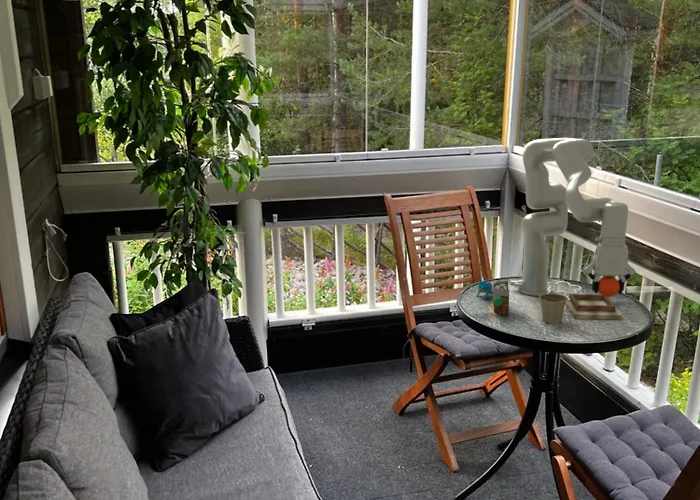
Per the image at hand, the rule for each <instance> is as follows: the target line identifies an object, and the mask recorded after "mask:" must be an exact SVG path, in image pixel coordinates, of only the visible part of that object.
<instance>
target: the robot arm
mask: <svg viewBox="0 0 700 500" xmlns="http://www.w3.org/2000/svg"><path fill="white" fill-rule="evenodd" d="M594 153H595V151H594V147H593V144H591V142H590V140H587V139H585V138H573V137H572V138H571V137H570V138H569V137H558V138H557V137H556V138H555V137H554V138H540V139H535V140H532V141H529V142H528V143H527V144H526V145H525V146H524V149H523V151H522V162H523V166H524V171H525V172H524V173H525V201H526V205H527V207H528V208H529V209H532V210H542V209H543V210H544V209H549V211H539V212H533V213H529V214H527V215H525V216H524V217H523V219H522V221H521V228H522V229H521V230H522V234H523V237H522V238H523V259H522V261H523V263H522V277H520V279H518V280H510V281H509V282H510V283H509V285H510V286H514V287H515V288H517V287H518V289H517V290H518V292H520V293H521V294H524V295H528V296H535V297H537V296H538V297H539V296H540V295H542V294H547V293H548V291H547V286H548V281H549V280H548V278H549V263H550V262H549V261H550V247H549V244H548V243H547V241H546V239H545V238H546V237H552V236H560V235H562V234H564V233H565V232H566V230H567V228H568V222H569V221H568V219H569V213H568V212H569V211H570V212H571V214H572V216H573V218H575V220H577V221H578V222H580V223H592V222H601V226H600V234H599V236H596V237H595V242H598V243H597V245H596V248H595V251H594V256H593V262H590V264H588V265H587V266H585V267H584V268H583V271H584V272H585V273H586V274H587V276H588V277H589V278H590V279H591V280H592V283H591V284H592V285H591V289H592V291H593V293H594V294H598V293H599V291H598V286H599V282H598V281H599V280H600V277H601V276H602V277H605V276H614V277H618V278H619V279H617V280H618V282H619V285H620V289H619V291H618V293H617V294H619V295H622V294H623V291H624V290H625V283H626V282H627V281H628V280H629V279H630V278H631V277H632V276H633V275H634V274H635V273H637V272H636V269H635V268H633V267H632V266H631V264H629V249H628V245H627V244H626V234H627V224H628V216H629V206H628V205H627V204H626V203H623V202H618V201H615V200H614V199H612V198H609V197H599V198H588V199H585V198H584V197H583V196H582V193H581V192H580V190H579V187H581V186H582V185H584V184H585V183H586V182H588V181H589V180H590V179H591V176H592V173H593V172H592V169H591V168H590V167H589V165H588V162H590V161H591V160H592V159H593V158H594ZM547 162H548V163H549V162H550V163H552V162H555V163H556V164H557V165H556V166H557V167H558V168H559V170H560V171H561V174H562V175H563V176H564V178H565V180H566V182H567V184H566V187H565V186H564V185H563V184H562V183H559V182H550V173H549V169H548V168H547V166H546V165H545V164H544V163H547ZM591 270H592V271H594V273H592V272H591Z"/></svg>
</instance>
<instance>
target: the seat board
mask: <svg viewBox="0 0 700 500" xmlns="http://www.w3.org/2000/svg"><path fill="white" fill-rule="evenodd" d="M568 296H569V298H570V300H567V301H566V303H567V306H566V307H567V309H568V311H569V312H570V313H571V314H570V315H572V317H573V319H579V320H580V319H583V320H584V319H585V320H586V319H589V320H592V319H593V320H623V314H622V313H621V311H620V309H618V308H617V306H616V305H615V304H614V303H613V301H612V300H611V299H610V297H606V296H603V295H602V294H600V293H599V294H598V293H594V294H593V293H569V295H568Z"/></svg>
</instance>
